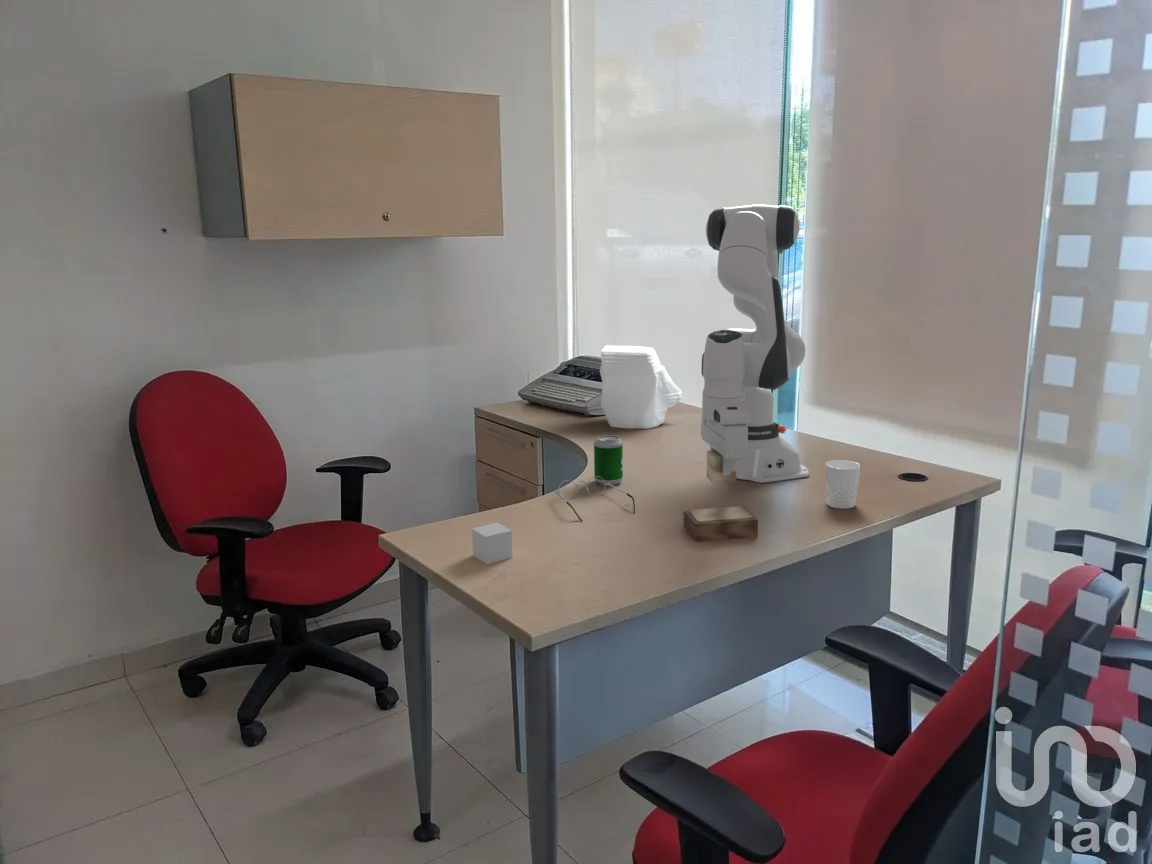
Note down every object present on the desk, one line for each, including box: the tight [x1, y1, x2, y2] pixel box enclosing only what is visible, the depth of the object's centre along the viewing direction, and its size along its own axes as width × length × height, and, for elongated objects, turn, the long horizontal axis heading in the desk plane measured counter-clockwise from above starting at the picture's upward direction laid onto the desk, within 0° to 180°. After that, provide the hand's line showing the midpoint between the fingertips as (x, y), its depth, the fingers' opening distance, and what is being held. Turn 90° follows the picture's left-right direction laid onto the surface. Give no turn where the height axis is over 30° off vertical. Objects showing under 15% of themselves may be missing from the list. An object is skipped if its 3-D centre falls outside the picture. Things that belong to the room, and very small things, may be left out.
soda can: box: [593, 435, 624, 487], centre depth 224 cm, size 8×8×12 cm
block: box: [706, 450, 737, 485], centre depth 184 cm, size 5×5×6 cm
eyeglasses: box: [554, 476, 636, 523], centre depth 206 cm, size 16×19×5 cm
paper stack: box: [599, 344, 683, 430], centre depth 283 cm, size 21×27×26 cm
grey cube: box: [471, 522, 513, 565], centre depth 176 cm, size 6×6×6 cm
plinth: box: [683, 505, 759, 543], centre depth 188 cm, size 14×9×4 cm, turn 99°
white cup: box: [824, 459, 861, 510], centre depth 204 cm, size 8×8×10 cm
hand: (721, 470), depth 185 cm, fingers closed on block, 5 cm apart
